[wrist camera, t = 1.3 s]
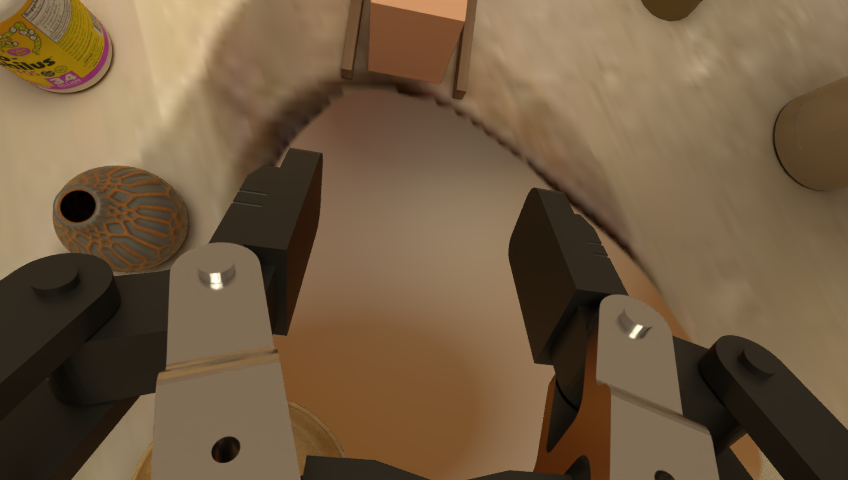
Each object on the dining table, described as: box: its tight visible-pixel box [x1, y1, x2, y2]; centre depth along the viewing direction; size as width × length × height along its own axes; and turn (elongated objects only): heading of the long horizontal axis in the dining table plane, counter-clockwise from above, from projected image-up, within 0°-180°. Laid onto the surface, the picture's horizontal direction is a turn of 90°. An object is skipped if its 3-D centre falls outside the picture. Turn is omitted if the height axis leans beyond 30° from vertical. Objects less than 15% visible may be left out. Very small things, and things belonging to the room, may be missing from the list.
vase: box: [53, 166, 188, 272], centre depth 28 cm, size 7×7×9 cm
